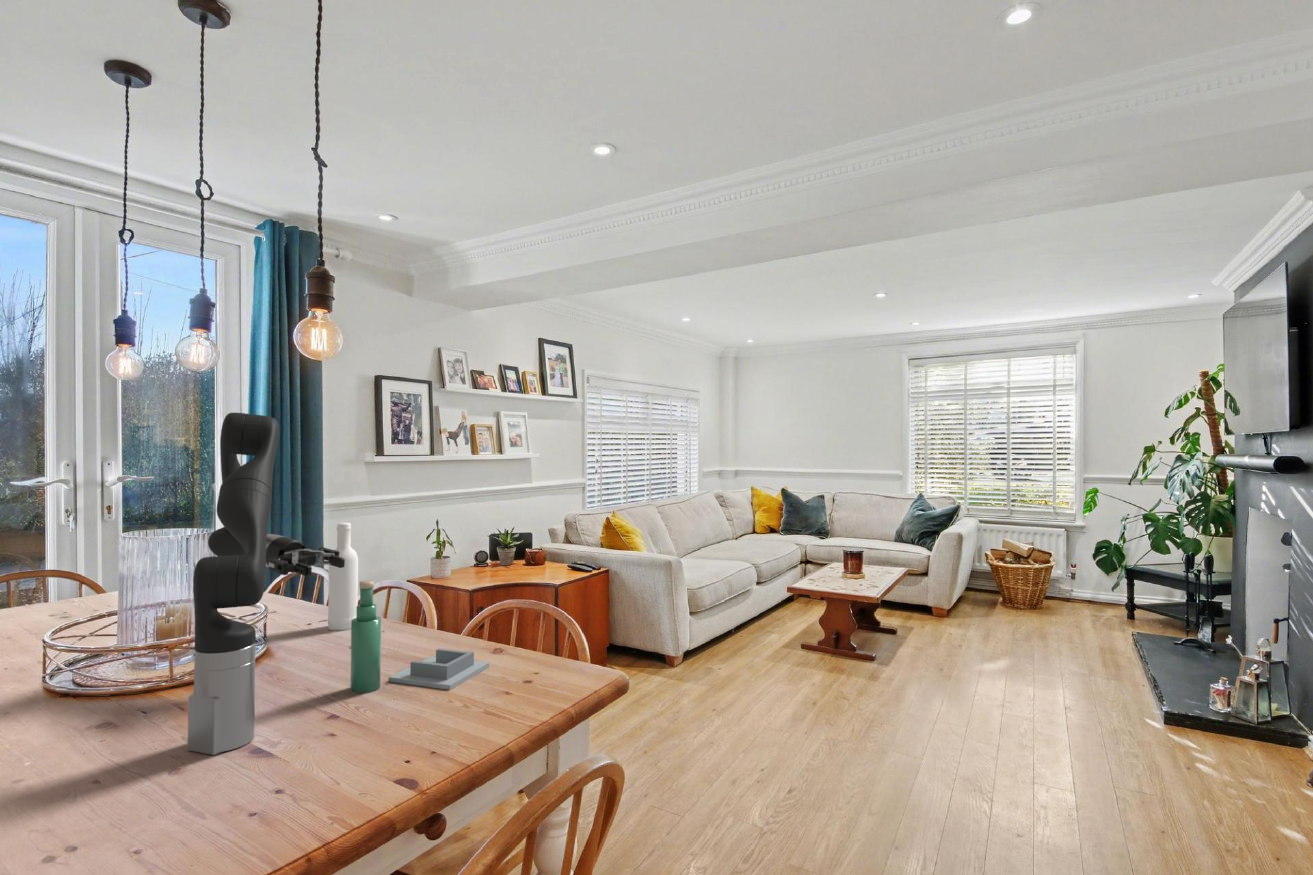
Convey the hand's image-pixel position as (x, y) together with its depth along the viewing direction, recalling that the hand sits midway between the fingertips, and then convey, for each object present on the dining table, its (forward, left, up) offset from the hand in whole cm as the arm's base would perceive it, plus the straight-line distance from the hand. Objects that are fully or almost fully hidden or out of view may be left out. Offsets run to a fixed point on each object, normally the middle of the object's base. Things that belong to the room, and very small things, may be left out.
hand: (327, 567), depth 152 cm
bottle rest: (+13, -21, -26) cm, 35 cm away
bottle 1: (+38, +29, -26) cm, 55 cm away
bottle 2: (0, -11, -26) cm, 28 cm away
